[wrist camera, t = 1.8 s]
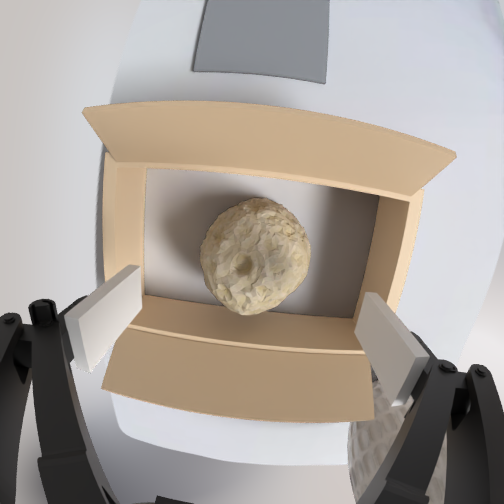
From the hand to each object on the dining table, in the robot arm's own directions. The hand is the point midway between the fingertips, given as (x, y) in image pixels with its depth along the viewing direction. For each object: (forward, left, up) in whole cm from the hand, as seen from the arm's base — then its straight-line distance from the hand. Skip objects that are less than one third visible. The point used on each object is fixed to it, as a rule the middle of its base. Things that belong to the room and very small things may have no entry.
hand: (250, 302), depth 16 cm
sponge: (0, 0, -11) cm, 11 cm away
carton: (0, 0, -11) cm, 11 cm away
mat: (-22, -1, -11) cm, 25 cm away
